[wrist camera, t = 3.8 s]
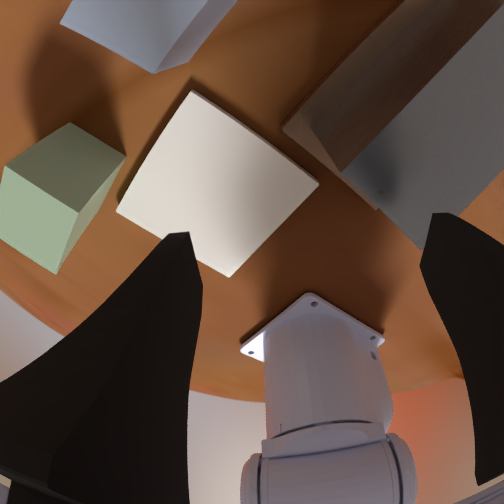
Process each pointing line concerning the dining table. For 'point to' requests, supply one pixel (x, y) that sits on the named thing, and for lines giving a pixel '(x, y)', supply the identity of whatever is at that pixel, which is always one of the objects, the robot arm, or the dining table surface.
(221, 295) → the dining table surface
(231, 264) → the plate
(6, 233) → the sage part
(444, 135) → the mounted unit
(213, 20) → the blue-grey part
